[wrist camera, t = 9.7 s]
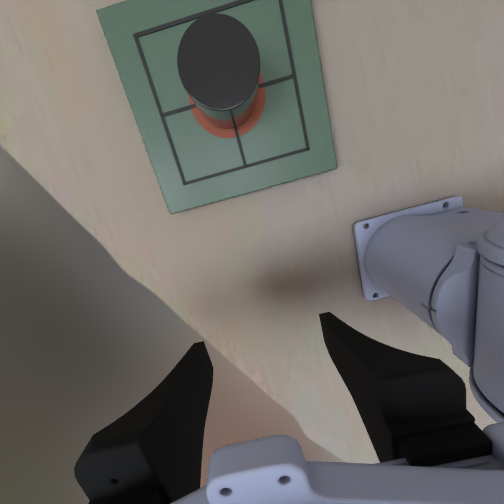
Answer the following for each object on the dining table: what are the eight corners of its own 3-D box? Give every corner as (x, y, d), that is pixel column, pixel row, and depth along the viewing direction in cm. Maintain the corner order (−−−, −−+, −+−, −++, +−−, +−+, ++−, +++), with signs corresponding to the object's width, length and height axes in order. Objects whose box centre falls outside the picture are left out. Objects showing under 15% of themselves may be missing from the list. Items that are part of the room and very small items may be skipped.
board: (297, -38, 17) (302, -60, 15) (331, 169, 21) (338, 168, 19) (107, 23, 18) (94, 9, 16) (174, 212, 21) (169, 214, 20)
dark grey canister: (247, 51, 17) (248, 0, 12) (263, 119, 18) (269, 98, 13) (187, 70, 17) (164, 27, 12) (206, 136, 18) (192, 120, 14)
